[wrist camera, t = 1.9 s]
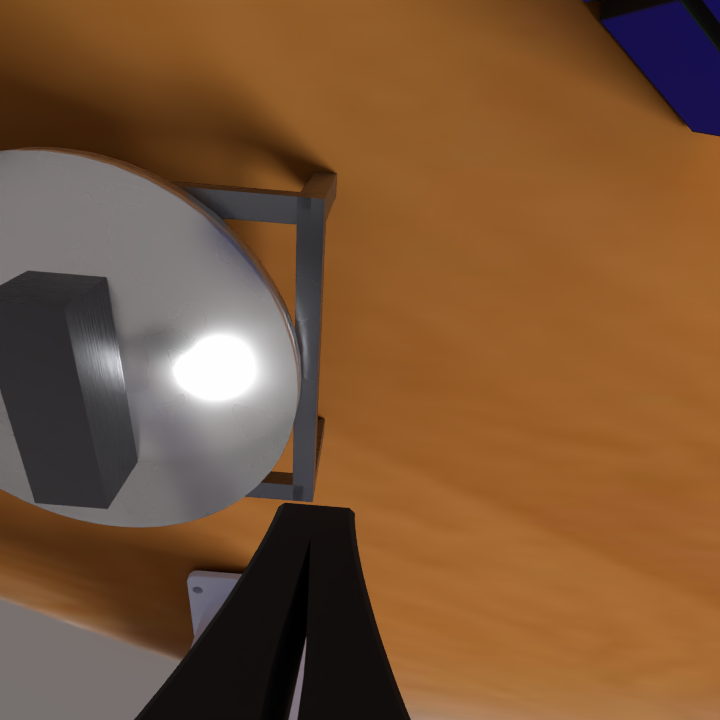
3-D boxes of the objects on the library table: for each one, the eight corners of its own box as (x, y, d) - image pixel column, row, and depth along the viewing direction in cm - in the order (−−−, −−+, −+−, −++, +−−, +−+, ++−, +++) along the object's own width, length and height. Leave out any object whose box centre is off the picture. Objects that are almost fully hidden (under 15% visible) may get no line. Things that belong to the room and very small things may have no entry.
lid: (298, 523, 18) (284, 592, 16) (-39, 495, 18) (-106, 560, 16) (306, 167, 12) (287, 189, 10) (-185, 126, 12) (-326, 138, 10)
